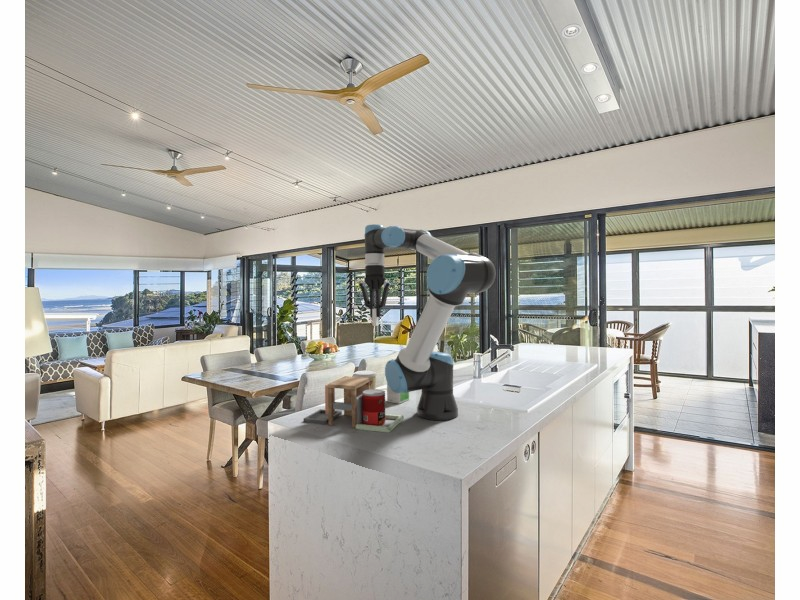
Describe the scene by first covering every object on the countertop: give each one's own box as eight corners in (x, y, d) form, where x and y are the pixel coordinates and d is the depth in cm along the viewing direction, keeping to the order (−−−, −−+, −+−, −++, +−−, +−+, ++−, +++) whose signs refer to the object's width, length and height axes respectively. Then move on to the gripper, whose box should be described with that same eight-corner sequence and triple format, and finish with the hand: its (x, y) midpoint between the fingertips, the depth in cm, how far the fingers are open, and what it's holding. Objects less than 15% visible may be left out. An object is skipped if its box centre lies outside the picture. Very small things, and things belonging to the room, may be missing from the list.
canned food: (382, 427, 141) (382, 394, 141) (359, 426, 142) (359, 393, 142) (387, 420, 148) (387, 389, 148) (365, 419, 150) (365, 388, 150)
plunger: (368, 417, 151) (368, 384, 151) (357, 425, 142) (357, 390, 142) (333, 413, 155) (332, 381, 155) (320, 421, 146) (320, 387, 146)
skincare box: (399, 404, 169) (399, 365, 168) (385, 402, 172) (385, 364, 172) (410, 399, 176) (409, 362, 176) (396, 397, 179) (396, 361, 179)
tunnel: (370, 416, 153) (369, 377, 153) (355, 428, 140) (354, 385, 140) (345, 414, 156) (345, 376, 156) (328, 425, 143) (328, 384, 143)
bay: (403, 418, 150) (403, 415, 150) (389, 432, 136) (389, 428, 136) (372, 415, 154) (372, 412, 153) (355, 428, 139) (355, 425, 139)
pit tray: (341, 414, 156) (341, 411, 156) (326, 424, 144) (326, 420, 144) (320, 412, 158) (320, 409, 158) (303, 422, 147) (303, 418, 147)
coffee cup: (351, 403, 171) (350, 374, 171) (358, 397, 180) (358, 369, 180) (373, 404, 169) (372, 375, 168) (379, 398, 178) (378, 370, 178)
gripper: (393, 265, 164) (394, 324, 165) (363, 266, 168) (363, 324, 169) (387, 264, 157) (387, 326, 158) (355, 265, 161) (356, 326, 162)
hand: (375, 325), depth 163 cm, fingers closed
